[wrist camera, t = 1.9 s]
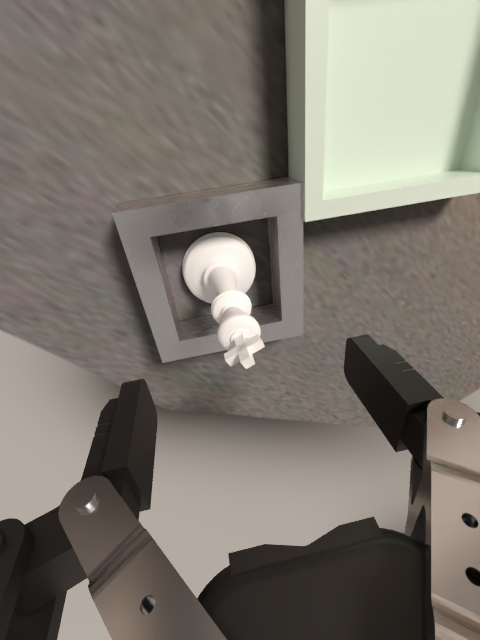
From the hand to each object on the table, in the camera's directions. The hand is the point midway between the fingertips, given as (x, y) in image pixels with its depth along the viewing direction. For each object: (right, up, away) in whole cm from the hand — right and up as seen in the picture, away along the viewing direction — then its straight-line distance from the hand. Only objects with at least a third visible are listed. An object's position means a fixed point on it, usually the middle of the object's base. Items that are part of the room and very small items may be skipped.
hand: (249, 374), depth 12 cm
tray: (+8, +15, +4) cm, 18 cm away
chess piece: (-2, +6, +9) cm, 11 cm away
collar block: (-2, +6, +8) cm, 10 cm away
